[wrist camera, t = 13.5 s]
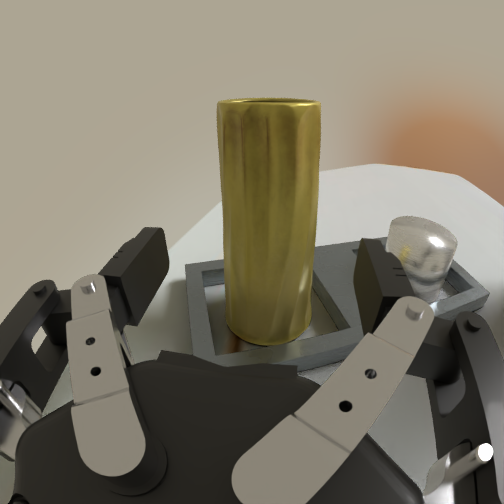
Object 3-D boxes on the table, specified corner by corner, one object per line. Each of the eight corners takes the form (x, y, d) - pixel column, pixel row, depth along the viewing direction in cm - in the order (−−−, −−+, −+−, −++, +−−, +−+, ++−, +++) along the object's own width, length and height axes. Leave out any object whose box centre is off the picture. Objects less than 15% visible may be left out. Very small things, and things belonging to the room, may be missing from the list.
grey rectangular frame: (416, 244, 29) (427, 202, 27) (483, 306, 20) (504, 259, 17) (187, 279, 25) (179, 226, 22) (199, 390, 16) (184, 333, 13)
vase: (210, 333, 20) (183, 105, 12) (245, 281, 25) (237, 97, 17) (298, 357, 18) (320, 106, 10) (318, 297, 23) (336, 101, 15)
